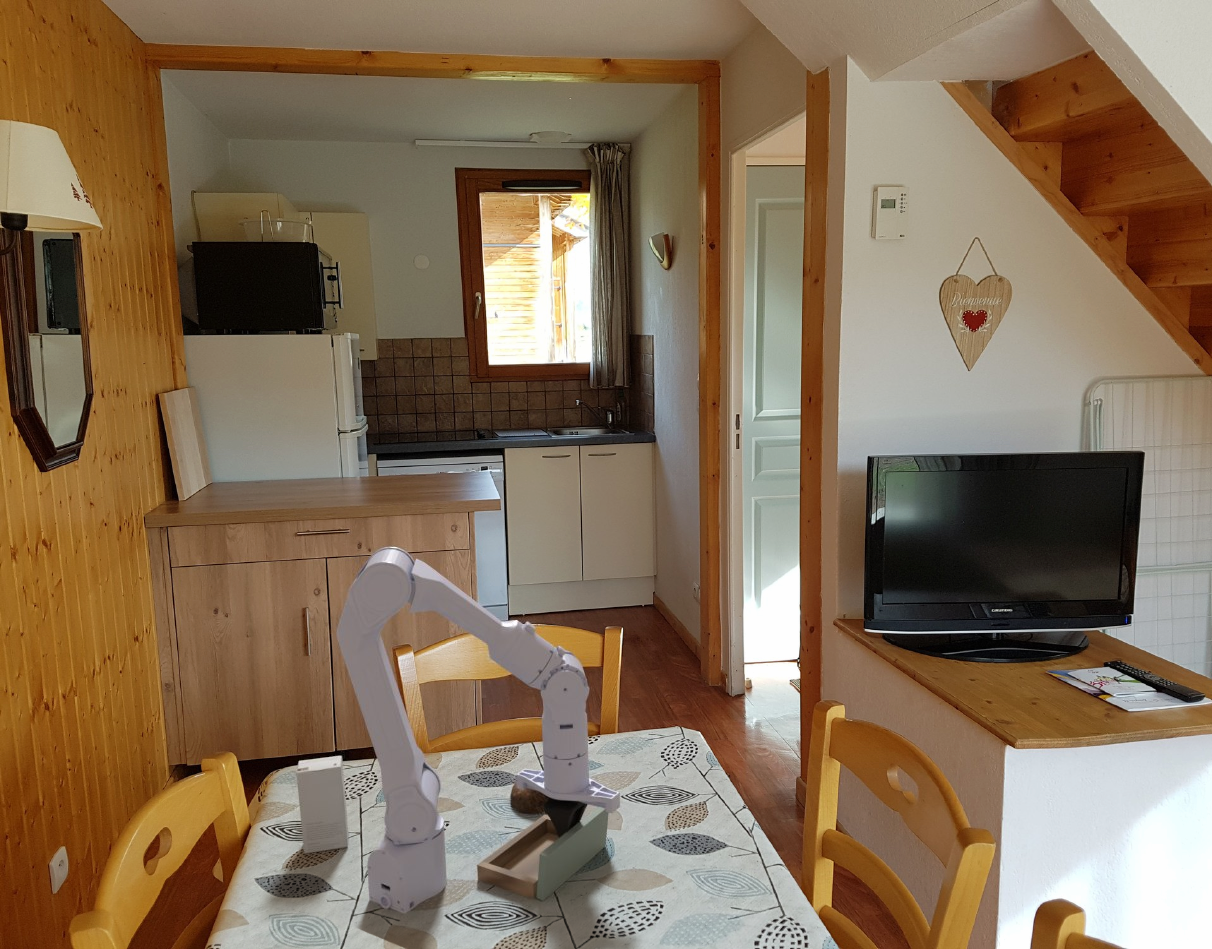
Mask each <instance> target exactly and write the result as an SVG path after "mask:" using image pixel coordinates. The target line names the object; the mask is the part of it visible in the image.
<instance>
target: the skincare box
mask: <svg viewBox="0 0 1212 949" xmlns="http://www.w3.org/2000/svg"><path fill="white" fill-rule="evenodd" d="M296 770H297V771H296V775H295V776H296V781H297V782H296V783H297V793H298V802H299V812H300V823H301V824H300V825H301V835H302V843H303V844H302V846H303V853H304V854H311V853H317V852H318V853H319V852H323V851H324V852H325V851H330V850H336V849H343V848H348V847H349V835H350V834H349V833H350V831H349V822H348V812H347V811H348V810H347V800H346V799H347V798H346V789H345V788H346V787H345V786H346V785H345V777H344V776H345V775H344V766H343V756H342V755H335V756H329V757H320V758H313V759H304V760H299V761H298V763H297V769H296Z"/></svg>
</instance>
